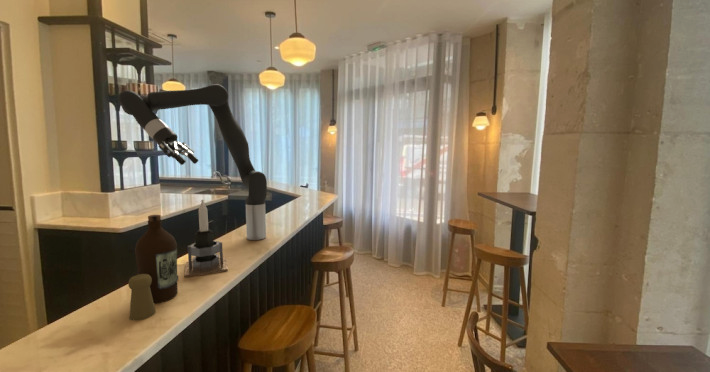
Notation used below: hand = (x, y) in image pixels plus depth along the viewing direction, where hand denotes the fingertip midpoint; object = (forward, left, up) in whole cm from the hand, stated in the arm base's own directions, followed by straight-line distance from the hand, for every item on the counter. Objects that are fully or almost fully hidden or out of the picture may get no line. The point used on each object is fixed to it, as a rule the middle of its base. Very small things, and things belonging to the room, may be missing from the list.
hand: (190, 162), depth 127 cm
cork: (+44, -12, -39) cm, 60 cm away
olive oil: (+34, -9, -39) cm, 53 cm away
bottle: (+14, +4, -38) cm, 41 cm away
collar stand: (+14, +4, -39) cm, 41 cm away
